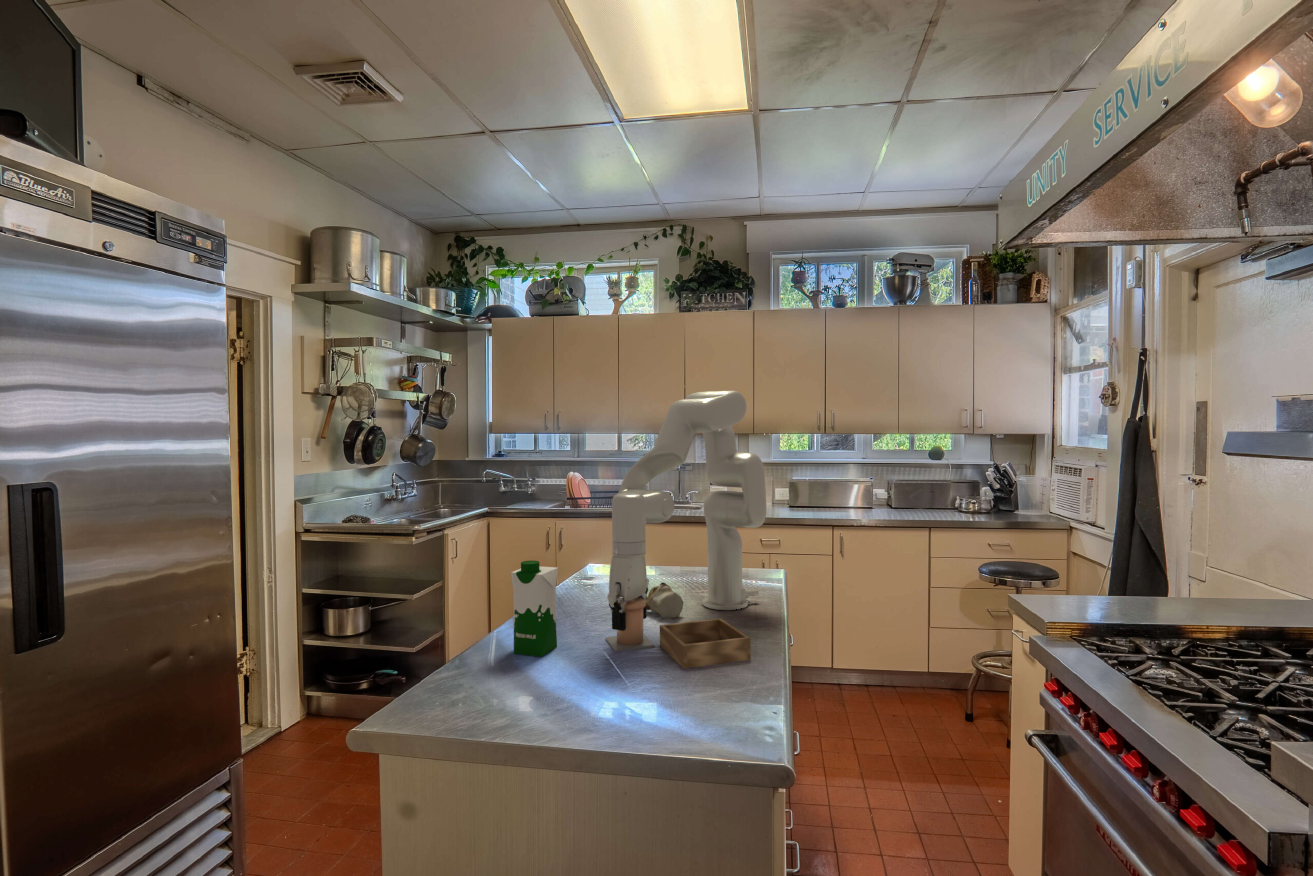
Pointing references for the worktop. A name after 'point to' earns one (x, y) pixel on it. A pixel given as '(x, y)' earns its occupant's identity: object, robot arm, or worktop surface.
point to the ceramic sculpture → (664, 601)
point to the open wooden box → (704, 643)
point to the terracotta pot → (632, 623)
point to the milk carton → (534, 609)
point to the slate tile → (620, 647)
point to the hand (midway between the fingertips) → (629, 623)
